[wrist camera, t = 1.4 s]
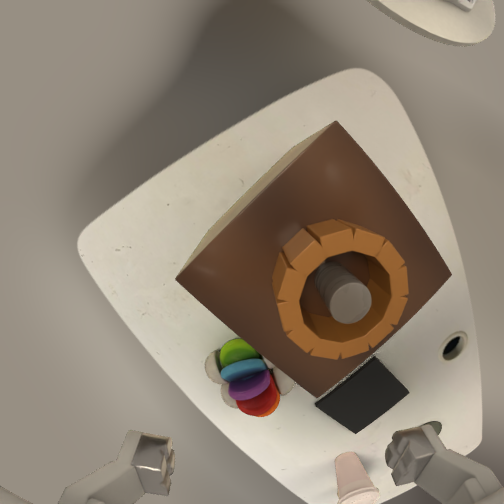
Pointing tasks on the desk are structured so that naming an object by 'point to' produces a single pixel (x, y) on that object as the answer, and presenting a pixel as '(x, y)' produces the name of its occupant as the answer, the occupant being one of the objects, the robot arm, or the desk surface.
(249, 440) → the desk surface
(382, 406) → the mat
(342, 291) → the tape stand
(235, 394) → the rainbow disc roller toy
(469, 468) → the robot arm
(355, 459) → the smoothie
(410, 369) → the desk surface
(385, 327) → the grooved wooden ring
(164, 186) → the desk surface
